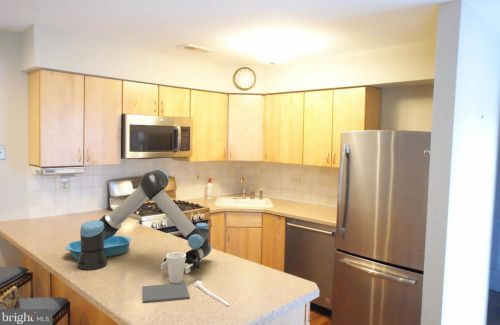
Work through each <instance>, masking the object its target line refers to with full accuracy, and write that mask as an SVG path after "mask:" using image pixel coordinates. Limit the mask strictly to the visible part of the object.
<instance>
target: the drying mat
mask: <svg viewBox="0 0 500 325" xmlns="http://www.w3.org/2000/svg"><path fill="white" fill-rule="evenodd" d="M179 300H190V293H189V291H188V286H187V283H186V282H180V283H165V284H164V283H163V284H154V285H142V304H146V303H147V304H148V303H158V302H168V301H169V302H171V301H179Z"/></svg>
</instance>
